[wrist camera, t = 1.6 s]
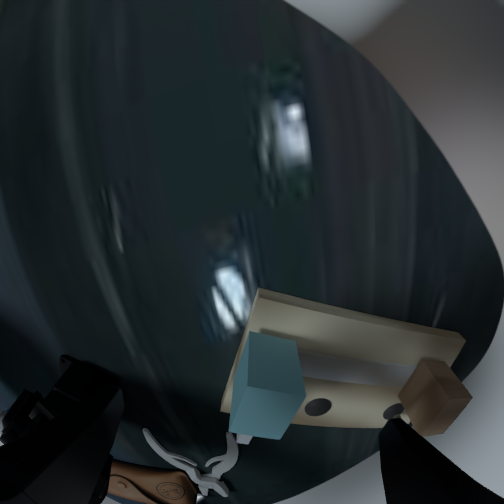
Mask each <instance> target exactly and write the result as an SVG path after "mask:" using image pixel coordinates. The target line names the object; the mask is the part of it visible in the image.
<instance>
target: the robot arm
mask: <svg viewBox="0 0 504 504" xmlns="http://www.w3.org/2000/svg"><path fill="white" fill-rule="evenodd" d="M59 361H60V367H61V372H62V376H61V377H60V379H59V380H58V381H57V382H56V384H55V385H54V386H53V389H52V390H51V392H50V393H49V394H48V396H47V397H46V398H45V399H44V398H43V397H42V395H41V394H40V393H39V392H38V391H36V392H35V393H32V392H29V391H27V390H26V389H25V390H24V391H23V392H22V393H21V394H20V396H19V397H18V398H17V399H16V401H15V402H14V403H13V405H12V406H11V407H10V409H9V410H8V412H7V413H6V415H5V416H4V418H3V419H2V424H3V430H2V435H1V437H0V441H1V442H2V443H3V444H4V445H2V446H0V504H101V503H102V501H103V500H104V498H105V497H106V495H107V492H108V488H109V480H110V473H111V466H112V460H113V456H112V455H111V454H109V453H110V451H111V448H112V446H113V443H114V440H115V437H116V433H117V430H118V427H119V423H120V420H121V417H122V414H123V411H124V399H123V394H122V390H121V388H119V381H118V379H117V378H115V377H113V376H111V375H108V374H106V373H103V372H101V371H98V370H96V369H94V368H91V367H89V366H87V365H85V364H82V363H80V362H78V361H76V360H74V359H72V358H70V357H68V356H66V355H61V356H60V358H59ZM29 415H30V416H31V417H32V418H33V419H31V418H30V417H29ZM379 448H380V461H381V472H382V478H383V484H384V490H385V496H386V502H387V504H504V498H502V497H500V496H499V495H497V494H495V493H494V492H492V491H490V490H489V489H487V488H486V487H484V486H483V485H481V484H480V483H478V482H476V481H475V480H474V479H473V478H471V477H470V476H469V475H468V474H466V473H465V472H464V471H462V470H461V469H460V468H459V467H458V466H456V465H455V464H454V463H453V462H452V461H451V460H449V459H448V458H447V457H446V456H445V455H443V454H442V453H441V452H440V451H438V450H437V449H436V448H435V447H434V446H433V445H432V444H430V443H429V442H428V441H427V440H426V439H424V438H423V437H422V436H421V435H420V434H419V433H418V432H416V431H415V430H414V429H413V428H412V427H411V426H409V425H408V424H407V423H406V422H405V421H404V420H403V419H401V418H390V419H389V420H388V421H387V422H386V424H385V425H384V427H383V428H382V429H381V431H380V433H379Z"/></svg>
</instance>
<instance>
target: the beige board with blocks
mask: <svg viewBox="0 0 504 504" xmlns="http://www.w3.org/2000/svg"><path fill="white" fill-rule="evenodd" d="M249 331H252V332H257V333H261V334H265V335H270V336H274V337H279V338H283V339H288V340H293V341H296V346H297V351H298V356H299V361H300V366H301V371H302V376H303V381H304V386H305V391H306V398H305V399H304V401H303V403H302V405H301V406H300V408H299V410H298V411H297V413H296V415H295V416H294V418H293V420H292V421H291V423H294V424H303V425H314V426H327V427H347V428H383V427H384V425H385V424H386V422H387V421H388V420H389V419H390V418H401V419H403V420H404V421H405V422H406V423H407V424H409V423H410V421H411V423H412V425H413V429H414V430H415V431H416V432H418V433H419V434H420V435H421V436H430V435H436V434H443V433H444V432H445V431H446V430H447V428H448V427H449V426H450V425H451V424H452V423H453V422H454V420H455V419H456V418H457V417H458V416H459V414H460V413H461V412H462V410H463V409H464V408H465V407H466V406H467V404H468V403H469V401H470V400H471V399H472V396H471V395H470V393H469V392H468V390H467V389H466V388H465V387H464V385H463V384H462V383H461V381H460V380H459V379H458V377H457V376H456V375H455V374H454V372H453V371H452V370H451V369H450V367H451V365H452V364H453V362H454V360H455V359H456V357H457V356H458V354H459V352H460V351H461V349H462V347H463V345H464V344H465V342H466V340H465V339H464V338H463V337H462V336H461V335H460V334H459V333H458V332H453V331H448V330H443V329H438V328H433V327H428V326H423V325H418V324H413V323H408V322H403V321H398V320H394V319H389V318H384V317H380V316H375V315H371V314H366V313H362V312H357V311H353V310H349V309H344V308H340V307H336V306H331V305H327V304H323V303H319V302H315V301H311V300H306V299H302V298H298V297H294V296H290V295H286V294H282V293H278V292H274V291H270V290H267V289H263V288H259V287H258V290H257V294H256V297H255V300H254V303H253V306H252V309H251V312H250V316H249V319H248V322H247V325H246V328H245V331H244V334H243V337H242V340H241V343H240V346H239V349H238V352H237V355H236V359H235V362H234V365H233V368H232V371H231V374H230V377H229V380H228V383H227V386H226V389H225V392H224V394H223V397H222V403H221V410H220V411H222V412H226V413H230V412H231V402H232V392H233V382H234V375H235V372H236V369H237V366H238V364H239V361H240V358H241V355H242V352H243V349H244V346H245V343H246V340H247V337H248V334H249Z"/></svg>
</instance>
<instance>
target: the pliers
mask: <svg viewBox="0 0 504 504" xmlns="http://www.w3.org/2000/svg"><path fill="white" fill-rule="evenodd" d="M143 433H144V436H145V438H146V440H147V442H148V443H149V444H150V446H151V447H152V448H153V449H154V450H155V451H156V452H157V453H158V454H159V455H160V456H161V457H162V458H164V459H165V460H166V461H168V462H169V463H171V464H172V465H174V466H176V467H178V468H180V469H183V470H185V471H186V472H187V473H188V475H189V476H190V478H191V479H192V481H194V482H195V483H196V484H199V486H198V487H199V489H200V491H201V493H202V494H203V495H206V496H207V495H208V488H212V489H214V490H215V491H217V492H218V493H219V494H221V495H222V496H223V497H228V491H229V489H228V488H227V486H226V485H225V483H224V482H223V481H219V479H220V476H221V475H222V474H223V473H224V472H226V471H228V470H230V469H231V468H232V467H233V466H234V465H235V463H236V461H237V459H238V445H237V443H236V439H235V437H234V436H233V434H232V433H231V432H226V437H227V447H228V449H227V454H225V455H222V456H218V457H215V458H212V459H210V460H209V461H208V462H207V463H206V466H207V467H208V466H209V465H210V464H211V463H213V462H215V461H219V460H223V461H222V462H221V463H219V464H218V465H216V466H214V467H213V469H212V474H202V475H200V471H199V470H197V469H196V468H195V467H194V466H197V463H196V462H194V461H192V460H190V459H188V458H186V457H183V456H181V455H177V454H174V453H171V452H168V451H166V450H165V449H164V448H163V447H162V446H161V445H160V444H159V443H158V442H157V440H156V439H155V438H154V437H153V436H152V434H151V433H150V432H149V430H148V429H146V428H143ZM177 458H178V459H177ZM179 459H181V460H184V461H186V462H188V463H190V464H192V465H194V466H192V465H189V464H187V463H185V462H183V461H181V460H179Z"/></svg>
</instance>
